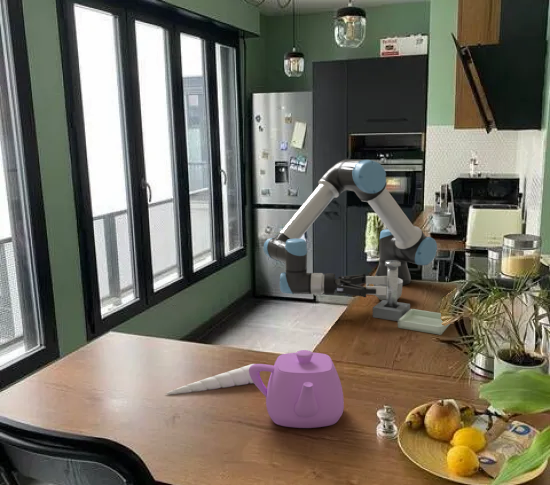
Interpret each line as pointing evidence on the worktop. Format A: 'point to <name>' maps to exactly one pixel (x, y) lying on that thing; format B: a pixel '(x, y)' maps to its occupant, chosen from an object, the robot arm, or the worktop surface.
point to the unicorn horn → (218, 381)
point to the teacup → (384, 297)
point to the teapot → (301, 390)
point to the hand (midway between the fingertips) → (385, 285)
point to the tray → (422, 321)
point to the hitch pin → (392, 282)
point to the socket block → (390, 311)
